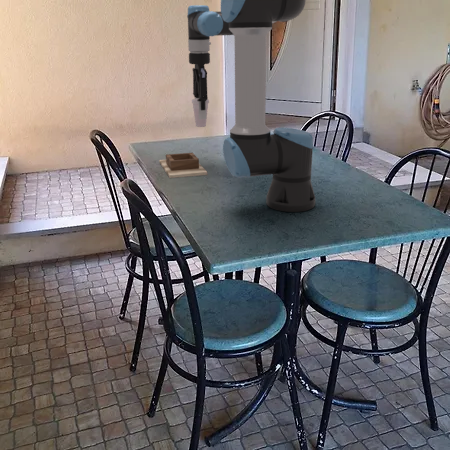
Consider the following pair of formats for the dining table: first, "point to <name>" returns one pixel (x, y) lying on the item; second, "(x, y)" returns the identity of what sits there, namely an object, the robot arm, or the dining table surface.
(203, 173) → the socket board
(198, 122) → the smoothie
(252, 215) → the dining table surface
